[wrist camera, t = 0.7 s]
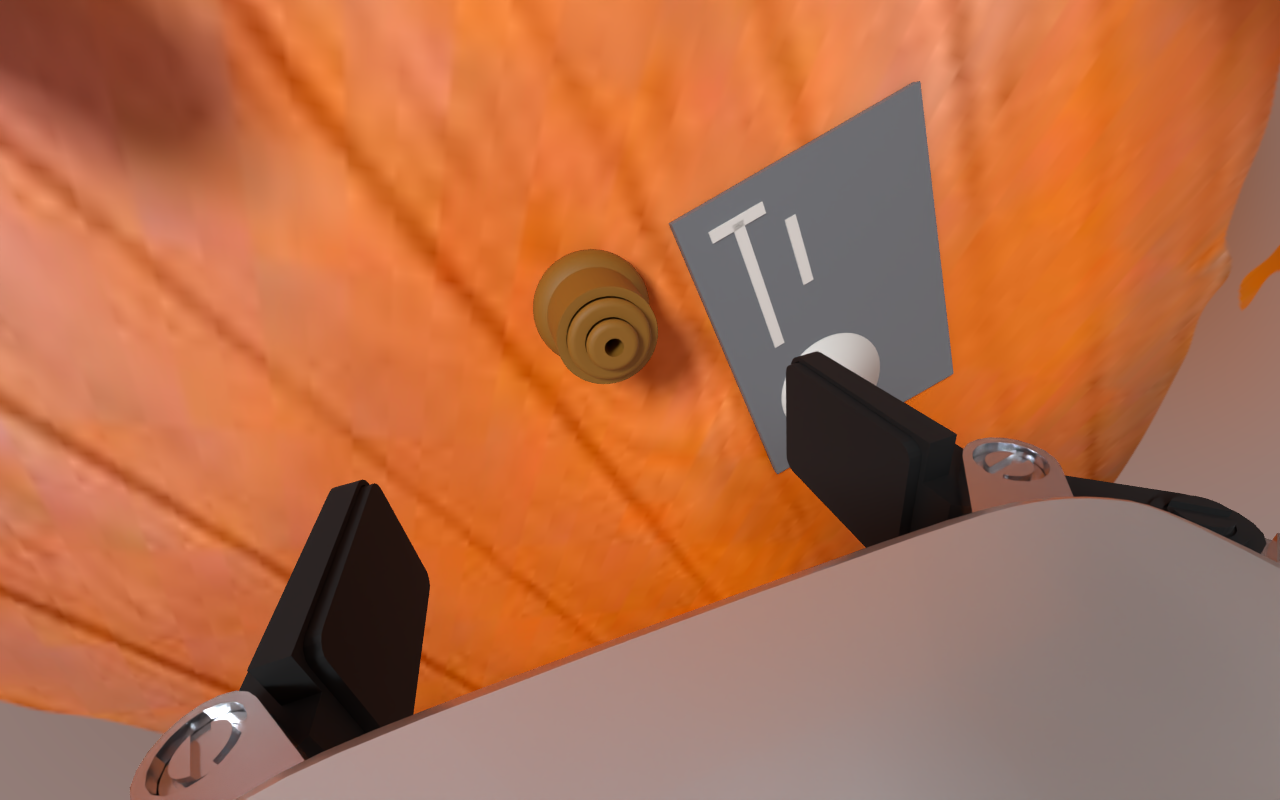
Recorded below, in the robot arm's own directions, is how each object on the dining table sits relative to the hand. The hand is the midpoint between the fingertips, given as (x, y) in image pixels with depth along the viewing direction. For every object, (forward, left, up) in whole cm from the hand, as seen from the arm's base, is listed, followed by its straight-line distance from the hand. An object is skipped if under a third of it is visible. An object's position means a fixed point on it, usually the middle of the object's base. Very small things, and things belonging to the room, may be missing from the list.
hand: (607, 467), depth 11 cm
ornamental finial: (-2, +4, -23) cm, 23 cm away
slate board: (-18, +14, -22) cm, 32 cm away
